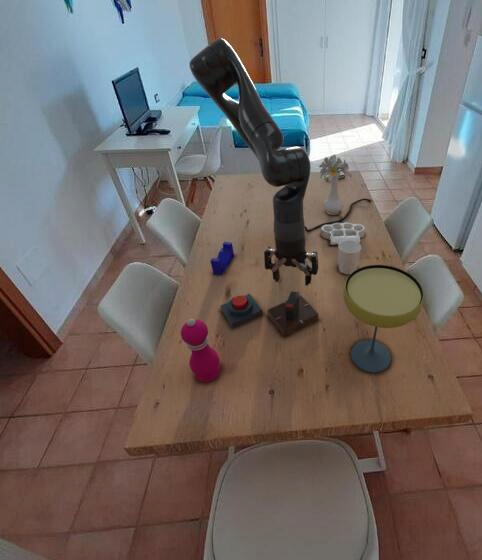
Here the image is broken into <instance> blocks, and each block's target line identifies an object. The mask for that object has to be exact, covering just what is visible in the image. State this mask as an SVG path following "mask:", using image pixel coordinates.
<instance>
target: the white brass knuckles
mask: <svg viewBox="0 0 482 560" xmlns="http://www.w3.org/2000/svg"><path fill="white" fill-rule="evenodd" d="M365 229H366V228H365V226H364V225H363V224H361V223H351V222H337V223H333V224H327V225H323V226H321V229H320V230H321V231H320V234H321V237H322V238H324V239H326V240H329V244H330V245H331V246H333V245H334V246H335V245H337V246H338V245H339V243H340V242H342V241H345V240H353V241H356V242H358V243H359V244H360V245H361V238H363V237H364V236H365Z"/></svg>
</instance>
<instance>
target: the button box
mask: <svg viewBox="0 0 482 560" xmlns="http://www.w3.org/2000/svg"><path fill="white" fill-rule="evenodd" d="M240 296H245V297H246V298H247V302H248V305H247V306H246V307H245V308H243V309H235V308H234V307H233V303H232V300H233V299H234V298H235V297H236V296H233V297H232V298H231V299H230V300H229V301H228V302H226V303H223V304H220V306H219V307H220V310H221V312H222V314H223V315H224V317H225V318H226V320H227V322H228V323H229V325H230V326H231V328H232V329H234V328H235V329H236V328H237V327H239V326H242V325H243V324H246V323H249V322H250V321H253V320H254V319H257V318H259V317H261V316H263V315H264V313H263V309H262V308H261V306H260V305H259V304H258V302H257V301H256V299H254V298H253V296H252V295H251V293H247V294H243V295H240Z"/></svg>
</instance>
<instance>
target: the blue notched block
mask: <svg viewBox="0 0 482 560" xmlns="http://www.w3.org/2000/svg"><path fill="white" fill-rule="evenodd" d="M234 257H235V252H234V246H233V242H231V241H223V243H222V247H221V248H220V250H219V251H218V255H217V257H216V258H215V257H211V258H210V265H211V269H212V273H213V275H219V276H222V275H223V274H224V272H225V270H226V269H227V267H228V266H229V264H230V263H231V262H232V260H233V259H234Z"/></svg>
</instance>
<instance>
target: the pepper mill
mask: <svg viewBox="0 0 482 560" xmlns="http://www.w3.org/2000/svg"><path fill="white" fill-rule="evenodd" d="M208 335H209V328H208V326H207V324H206V323H205V322H204V321H203V320H201V319H194V318H192V317H191V318H189V319H187V321H186V322H185V323H184V324H183V325H182V327H181V329H180V337H181V340H182V342H184V343H185V344H186V346H187V349H189V350H190V351H191V355H190V358H189V368H190V370H191V371H192V373H193V374H194V376H195V378H196V379H197V380H198V381H199V382H201V383H209V382H212V381H214V380H216V379H217V378H218V377H219V375H220V373H221V367H220V361H221V359H220V356H219V353H218V352H217V350H215V349H214V348H213V347H211V346H210V345H209V341H210V340H209V336H208Z"/></svg>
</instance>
